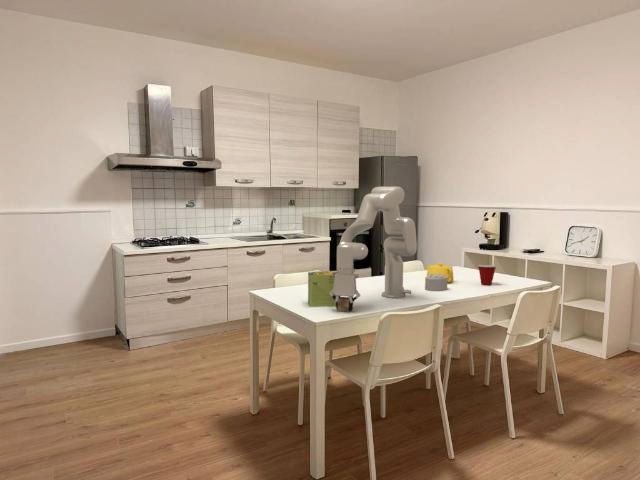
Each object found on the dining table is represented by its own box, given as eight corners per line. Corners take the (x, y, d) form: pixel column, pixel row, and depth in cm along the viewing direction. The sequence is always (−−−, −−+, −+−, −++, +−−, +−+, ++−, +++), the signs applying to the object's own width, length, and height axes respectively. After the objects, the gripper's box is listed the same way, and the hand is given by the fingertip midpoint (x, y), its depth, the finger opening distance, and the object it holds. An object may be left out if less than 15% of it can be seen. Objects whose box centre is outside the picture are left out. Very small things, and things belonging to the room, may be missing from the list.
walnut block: (350, 310, 205) (351, 297, 204) (348, 312, 200) (348, 299, 200) (340, 309, 206) (340, 296, 206) (337, 311, 202) (337, 298, 201)
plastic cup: (491, 282, 274) (492, 263, 272) (498, 286, 263) (499, 266, 262) (473, 282, 273) (474, 263, 272) (480, 286, 263) (481, 266, 261)
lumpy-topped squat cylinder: (449, 289, 253) (450, 274, 252) (435, 292, 245) (435, 277, 244) (434, 286, 261) (435, 272, 260) (420, 289, 253) (420, 274, 252)
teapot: (419, 279, 282) (420, 261, 281) (433, 278, 289) (433, 260, 288) (444, 285, 266) (445, 265, 265) (458, 283, 273) (458, 264, 271)
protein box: (340, 306, 212) (341, 274, 211) (308, 306, 211) (308, 274, 210) (338, 301, 223) (338, 270, 221) (307, 301, 221) (307, 271, 220)
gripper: (364, 271, 203) (364, 309, 204) (329, 269, 208) (328, 306, 209) (361, 273, 195) (360, 313, 197) (324, 271, 201) (324, 310, 202)
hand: (344, 309), depth 203 cm, fingers closed on walnut block, 5 cm apart
